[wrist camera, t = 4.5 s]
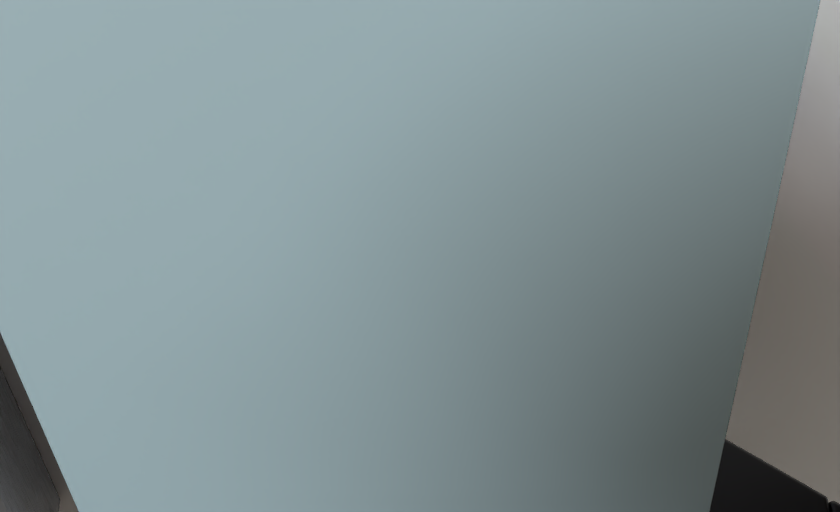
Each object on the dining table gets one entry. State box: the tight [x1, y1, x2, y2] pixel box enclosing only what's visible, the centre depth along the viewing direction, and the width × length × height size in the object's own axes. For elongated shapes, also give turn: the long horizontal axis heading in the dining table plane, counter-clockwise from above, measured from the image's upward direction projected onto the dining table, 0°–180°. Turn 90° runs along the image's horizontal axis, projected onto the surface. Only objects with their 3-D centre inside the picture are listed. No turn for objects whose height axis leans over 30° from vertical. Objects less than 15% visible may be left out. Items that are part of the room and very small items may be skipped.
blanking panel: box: [0, 0, 820, 512], centre depth 8 cm, size 12×4×5 cm, turn 3°
